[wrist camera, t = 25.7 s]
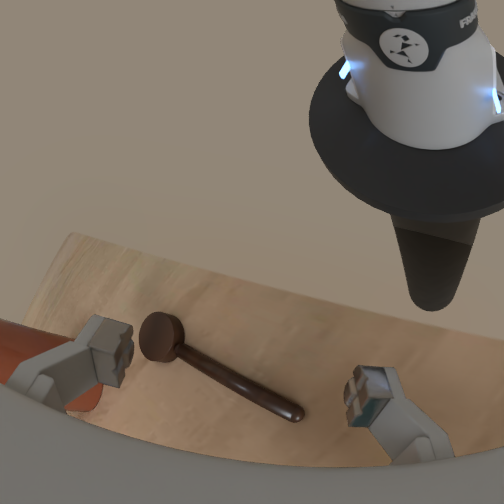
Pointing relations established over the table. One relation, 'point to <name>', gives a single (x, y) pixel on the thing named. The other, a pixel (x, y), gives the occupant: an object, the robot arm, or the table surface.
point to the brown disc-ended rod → (207, 364)
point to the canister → (30, 345)
